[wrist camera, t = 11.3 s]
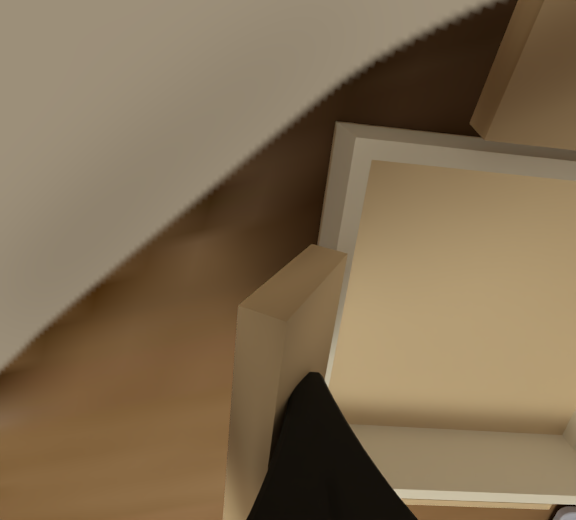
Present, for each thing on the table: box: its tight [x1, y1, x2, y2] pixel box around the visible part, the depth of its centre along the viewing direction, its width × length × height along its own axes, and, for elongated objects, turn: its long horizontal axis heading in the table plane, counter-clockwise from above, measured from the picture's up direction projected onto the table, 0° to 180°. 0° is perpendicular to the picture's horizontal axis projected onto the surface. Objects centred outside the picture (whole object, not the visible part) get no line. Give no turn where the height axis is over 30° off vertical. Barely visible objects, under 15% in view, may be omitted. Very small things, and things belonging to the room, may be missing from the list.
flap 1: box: [223, 244, 348, 520], centre depth 11 cm, size 8×4×1 cm
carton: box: [317, 121, 576, 510], centre depth 15 cm, size 13×13×4 cm
